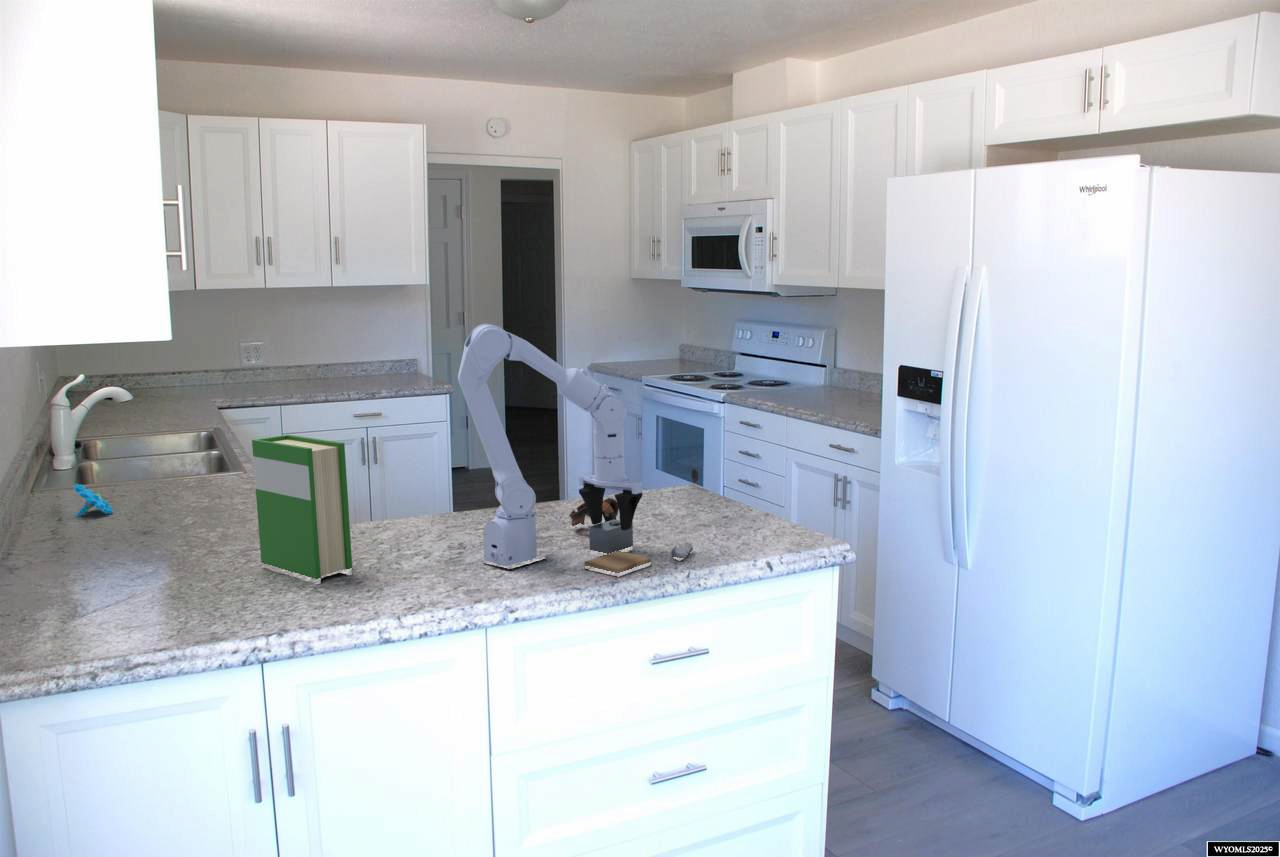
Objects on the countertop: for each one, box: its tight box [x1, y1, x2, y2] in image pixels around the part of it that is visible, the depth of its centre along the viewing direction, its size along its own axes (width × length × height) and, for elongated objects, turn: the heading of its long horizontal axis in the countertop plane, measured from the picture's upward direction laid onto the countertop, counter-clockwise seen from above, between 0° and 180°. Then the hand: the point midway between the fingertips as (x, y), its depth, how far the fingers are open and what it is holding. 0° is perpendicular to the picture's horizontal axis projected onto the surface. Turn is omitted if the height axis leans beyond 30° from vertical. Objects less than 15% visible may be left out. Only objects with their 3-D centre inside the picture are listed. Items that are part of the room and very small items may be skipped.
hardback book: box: [251, 434, 353, 579], centre depth 182 cm, size 18×7×24 cm, turn 51°
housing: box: [588, 519, 634, 554], centre depth 192 cm, size 7×5×6 cm
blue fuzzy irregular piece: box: [73, 483, 114, 517], centre depth 232 cm, size 11×6×10 cm
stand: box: [584, 551, 652, 573], centre depth 181 cm, size 9×8×2 cm
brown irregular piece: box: [568, 497, 619, 527], centre depth 209 cm, size 12×10×8 cm
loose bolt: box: [670, 543, 694, 559], centre depth 187 cm, size 6×3×3 cm, turn 159°
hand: (611, 526), depth 191 cm, fingers open, 7 cm apart
